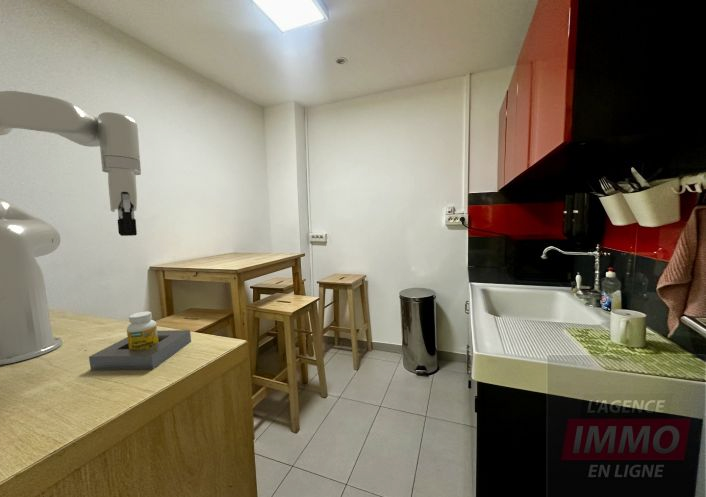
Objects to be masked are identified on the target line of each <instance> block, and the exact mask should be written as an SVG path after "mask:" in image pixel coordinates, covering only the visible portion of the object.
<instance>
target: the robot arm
mask: <svg viewBox="0 0 706 497" xmlns="http://www.w3.org/2000/svg"><path fill="white" fill-rule="evenodd" d="M13 129H20V130H28V131H29V130H30V131H37V132H43V133H44V132H45V133H50V134H55V135H58V136H60V137H62V138H65V139H67V140H69V141H71V142H74V144H77V145H80V146H84V147H91V148H92V147H93V148H94V147H99V149H100V150H99V151H100V160H101V171H102V172H104V173H107V183H108V184H107V187H108V194H109V195H108V196H109V205H110V211H111V212H112V213H115V211H116V210H117V213H118V214H117V216H118V219H117V230H118V234H119V235H120V236H121V237H129V236H131V237H133V236H137V235H138V233H137V232H138V230H137V219H136V218H135V213H134V212H136V211H137V207H138V206H137V205H138V203H137V201H138V200H137V199H138V198H137V197H138V196H137V180H136V179H137V178H136V176H140V175H142V170H141V158H140V156H141V155H140V143H139V142H140V141H139V129H138V124H137V122H136V120H135V119H133V118H132V117H131V116H128V115H125V114H122V113H118V112H108V111H107V112H106V111H105V112H102V113H100V114H98V116H94V115H93V114H90V113H88V112H86V111H85V110H83V109H81V108H80V107H79V106H77V105H75V104H74V103H72V102H71V101H70V102H69V101H67V100H65V99H61V98H58V97H53V96H48V95H43V94H37V93H32V92H31V93H30V92H24V91H17V90H3V91H0V136H5V135H8V134H9V133H11V131H12V130H13ZM60 244H61V235H60V233H59V231H58V230H57V229H56V228H55V226H53V225H52V224H51V223H49V222H47V221H46V220H44V219H42V218H40V217H38V216H36V215H34V214H32V213H30V212H28V211H26V210H25V209H22V208H21V207H19V206H17V205H16V204H14V203H11V202H10V201H7V200H6V199H2V198H0V366H2V365H8V364H12V363H17V362H22V361H27V360H30V359H33V358H35V357H36V358H37V357H40V356H42V355H45V354H47V353H50V352H52V351H54V350H56V349H58V348H59V347H61V346H62V345H63V343H64V342H63V339H62V337H57V336H53V332H52V324H51V317H50V311H49V305H48V296H47V291H46V290H47V289H46V285H45V278H44V275H43V274H44V273H43V271H42V269H41V266H40V264H39V262H38V261H37V260H36V258H38V257H42V256H46V255H49V254H51V253H53V252H54V251H56V250H57V249H58V247H59V246H60Z"/></svg>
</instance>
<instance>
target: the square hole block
mask: <svg viewBox="0 0 706 497" xmlns="http://www.w3.org/2000/svg"><path fill="white" fill-rule="evenodd" d="M157 333H158V342H159V343H157V344H155V345H154V346H152V347H150V348H149V349H129V343H128V336H127V337H125V338H123V339H121V340H119V341H117V342H115V343H113V344H111V345H109V346H107V347H105V348H104V349H101V350H100V351H98V352H95V353H93V354H92V355H90V356H88V359H89V360H88V361H89V367H90V372H91V371H93V372H94V371H95V372H96V371H137V370H138V371H139V370H140V371H141V370H145V371H146V370H154V369H156V368H157V367H159V366H160V365H161V364H163V363H164V362H165V361H166V360H168V359H170V357H172V356H173V355H175V354H176V353H178V352H179V351H181V349H183V348H184V347H185V346H187V345H188V344H190V343H191V342H192V336H191V329H180V330H178V329H177V330H176V329H174V330H169V329H168V330H157Z"/></svg>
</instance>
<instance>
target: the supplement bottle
mask: <svg viewBox="0 0 706 497" xmlns="http://www.w3.org/2000/svg"><path fill="white" fill-rule="evenodd" d="M128 320H129V321H128V322H129V323H130V324H129V325H128V326H127V327H126V334H127V337H128V343H129V349H149V348H150V347H152V346H154V345H155V344H157V343H159V342H158V333H157V331H158V325H157V322H156V321H155V320H153V315H152V312H151V311H140V312H135V313H133V314H131V315H129V316H128Z"/></svg>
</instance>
